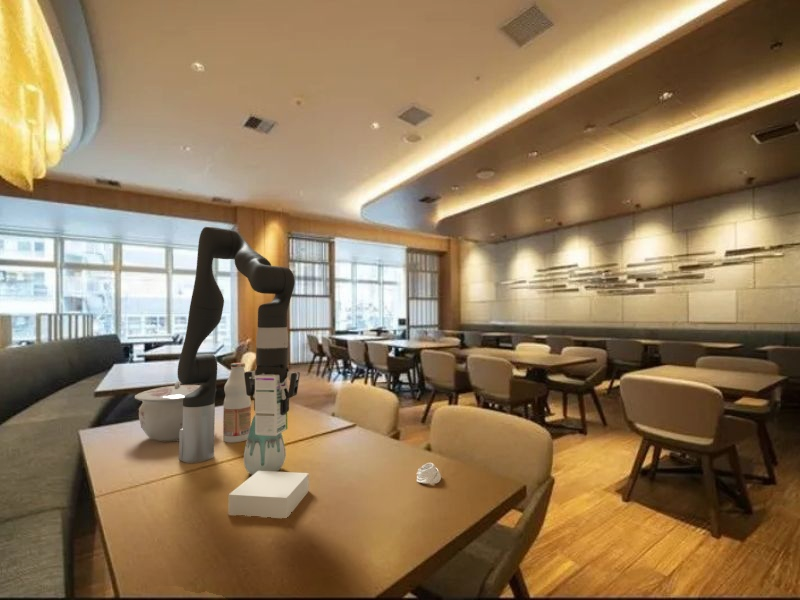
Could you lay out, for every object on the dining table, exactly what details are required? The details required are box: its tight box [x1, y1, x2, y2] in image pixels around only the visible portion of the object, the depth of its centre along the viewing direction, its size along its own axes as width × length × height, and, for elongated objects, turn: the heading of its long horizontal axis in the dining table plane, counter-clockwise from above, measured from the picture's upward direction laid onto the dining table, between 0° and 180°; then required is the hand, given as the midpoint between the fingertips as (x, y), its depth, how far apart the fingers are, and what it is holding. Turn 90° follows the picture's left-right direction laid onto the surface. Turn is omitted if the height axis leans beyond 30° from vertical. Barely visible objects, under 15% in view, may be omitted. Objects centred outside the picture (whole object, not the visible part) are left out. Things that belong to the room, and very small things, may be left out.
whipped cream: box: [416, 462, 442, 485], centre depth 109 cm, size 8×7×5 cm
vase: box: [243, 415, 286, 476], centre depth 115 cm, size 12×12×18 cm
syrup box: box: [254, 374, 288, 436], centre depth 97 cm, size 6×6×14 cm
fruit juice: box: [222, 362, 252, 444], centre depth 146 cm, size 9×9×28 cm
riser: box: [227, 471, 310, 519], centre depth 96 cm, size 14×14×5 cm
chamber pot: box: [134, 381, 201, 442], centre depth 150 cm, size 28×28×21 cm
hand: (271, 413), depth 97 cm, fingers closed on syrup box, 6 cm apart
